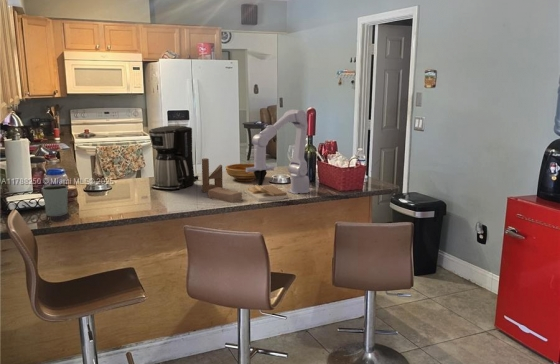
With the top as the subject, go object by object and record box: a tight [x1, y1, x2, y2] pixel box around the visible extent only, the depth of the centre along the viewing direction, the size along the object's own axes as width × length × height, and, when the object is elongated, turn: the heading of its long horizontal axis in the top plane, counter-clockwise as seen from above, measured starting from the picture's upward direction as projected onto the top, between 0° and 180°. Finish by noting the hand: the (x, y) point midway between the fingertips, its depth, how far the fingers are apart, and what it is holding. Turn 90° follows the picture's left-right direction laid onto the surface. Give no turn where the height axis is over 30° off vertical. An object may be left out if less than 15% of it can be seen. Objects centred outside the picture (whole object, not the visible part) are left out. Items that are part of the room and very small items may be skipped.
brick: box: [207, 187, 243, 203], centre depth 233 cm, size 17×8×5 cm, turn 55°
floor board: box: [244, 185, 289, 202], centre depth 239 cm, size 16×20×3 cm
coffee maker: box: [148, 125, 201, 191], centre depth 261 cm, size 23×32×34 cm
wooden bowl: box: [224, 163, 256, 182], centre depth 280 cm, size 30×24×8 cm
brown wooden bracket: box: [201, 158, 224, 193], centre depth 247 cm, size 4×11×18 cm, turn 115°
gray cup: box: [41, 184, 69, 217], centre depth 203 cm, size 10×10×12 cm
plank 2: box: [253, 184, 274, 196], centre depth 234 cm, size 8×9×1 cm
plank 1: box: [247, 186, 267, 194], centre depth 242 cm, size 8×9×1 cm
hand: (260, 185), depth 232 cm, fingers closed
